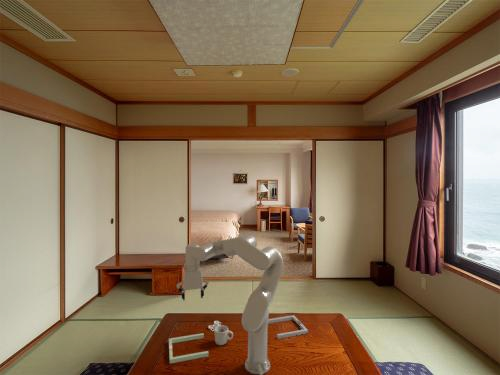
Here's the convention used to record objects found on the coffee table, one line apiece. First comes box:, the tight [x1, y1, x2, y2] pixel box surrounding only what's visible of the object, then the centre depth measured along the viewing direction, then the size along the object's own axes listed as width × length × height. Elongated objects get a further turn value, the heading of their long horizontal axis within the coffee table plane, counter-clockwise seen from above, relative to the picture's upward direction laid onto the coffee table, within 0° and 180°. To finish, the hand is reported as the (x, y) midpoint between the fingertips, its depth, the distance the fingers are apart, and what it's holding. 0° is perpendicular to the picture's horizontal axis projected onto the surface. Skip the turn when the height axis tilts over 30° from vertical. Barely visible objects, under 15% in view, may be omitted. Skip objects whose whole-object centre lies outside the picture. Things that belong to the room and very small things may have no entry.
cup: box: [213, 324, 234, 346], centre depth 157 cm, size 11×8×8 cm
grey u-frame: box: [268, 315, 309, 340], centre depth 173 cm, size 19×20×3 cm
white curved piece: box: [207, 320, 222, 332], centre depth 173 cm, size 9×8×4 cm
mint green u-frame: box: [168, 332, 209, 364], centre depth 151 cm, size 19×20×3 cm
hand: (192, 298), depth 151 cm, fingers open, 9 cm apart
